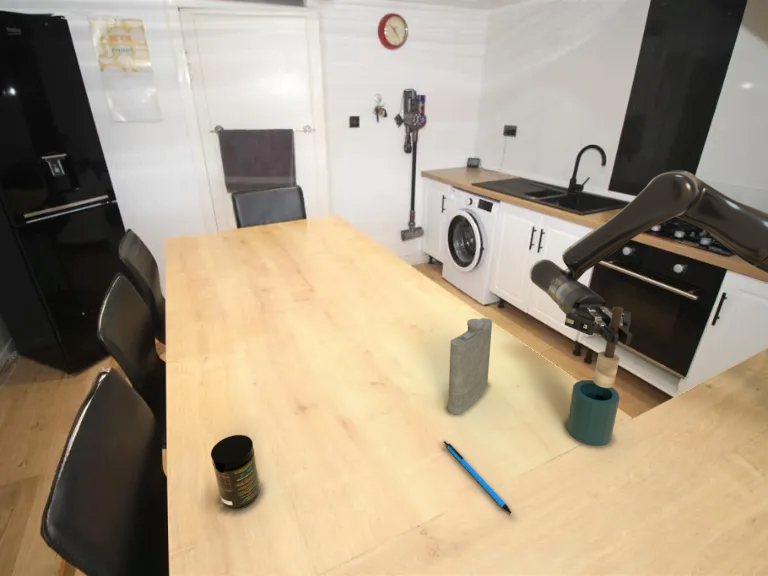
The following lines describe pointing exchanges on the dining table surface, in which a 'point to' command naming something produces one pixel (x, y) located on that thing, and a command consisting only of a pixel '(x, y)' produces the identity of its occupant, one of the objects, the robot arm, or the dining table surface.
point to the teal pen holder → (592, 413)
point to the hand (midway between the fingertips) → (622, 340)
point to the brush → (608, 356)
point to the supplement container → (236, 471)
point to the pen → (478, 478)
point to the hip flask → (469, 365)
